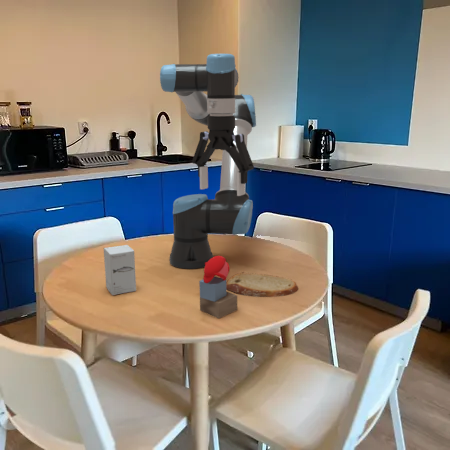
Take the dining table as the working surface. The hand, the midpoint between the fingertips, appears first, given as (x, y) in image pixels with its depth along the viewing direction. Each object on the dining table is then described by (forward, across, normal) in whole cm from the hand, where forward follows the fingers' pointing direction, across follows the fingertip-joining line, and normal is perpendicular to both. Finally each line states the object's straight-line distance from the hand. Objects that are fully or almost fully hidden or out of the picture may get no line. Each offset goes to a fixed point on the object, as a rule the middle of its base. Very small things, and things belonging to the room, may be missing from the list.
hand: (222, 191), depth 129 cm
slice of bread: (+30, +10, +6) cm, 32 cm away
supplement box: (+29, -22, -21) cm, 42 cm away
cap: (+20, +9, -14) cm, 26 cm away
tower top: (+24, +9, -15) cm, 30 cm away
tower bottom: (+29, +10, -14) cm, 33 cm away
